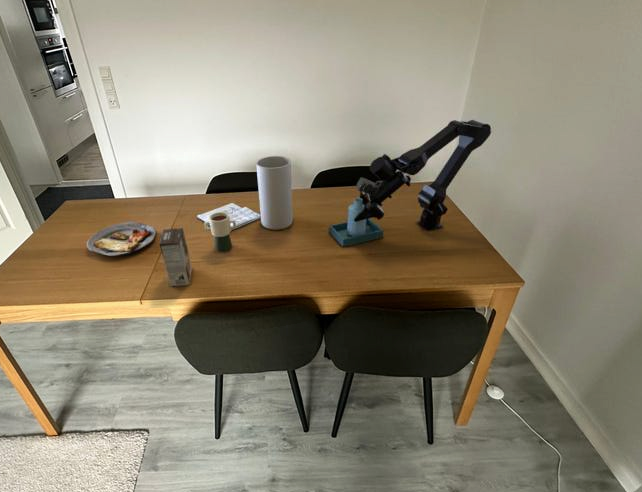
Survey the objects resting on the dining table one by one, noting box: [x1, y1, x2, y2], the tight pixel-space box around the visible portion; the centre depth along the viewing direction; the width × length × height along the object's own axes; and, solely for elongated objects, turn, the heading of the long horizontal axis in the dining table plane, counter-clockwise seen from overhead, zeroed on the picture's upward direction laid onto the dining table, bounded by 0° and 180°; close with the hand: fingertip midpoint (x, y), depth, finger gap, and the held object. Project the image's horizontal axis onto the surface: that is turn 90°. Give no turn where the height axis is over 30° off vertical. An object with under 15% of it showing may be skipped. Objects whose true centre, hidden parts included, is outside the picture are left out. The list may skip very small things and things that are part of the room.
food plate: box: [86, 221, 158, 257], centre depth 144 cm, size 25×23×4 cm
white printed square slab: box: [197, 202, 261, 231], centre depth 155 cm, size 19×20×2 cm
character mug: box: [204, 212, 237, 252], centre depth 133 cm, size 11×7×13 cm, turn 90°
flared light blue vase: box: [347, 197, 366, 236], centre depth 135 cm, size 6×6×13 cm
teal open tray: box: [328, 218, 384, 248], centre depth 138 cm, size 16×11×3 cm
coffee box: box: [158, 227, 193, 287], centre depth 119 cm, size 9×6×16 cm
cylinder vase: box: [255, 155, 294, 231], centre depth 143 cm, size 12×12×25 cm
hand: (353, 216), depth 135 cm, fingers closed on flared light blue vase, 6 cm apart
